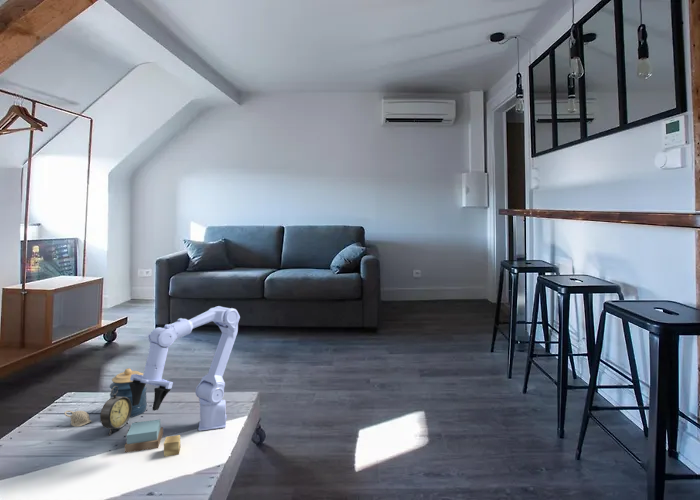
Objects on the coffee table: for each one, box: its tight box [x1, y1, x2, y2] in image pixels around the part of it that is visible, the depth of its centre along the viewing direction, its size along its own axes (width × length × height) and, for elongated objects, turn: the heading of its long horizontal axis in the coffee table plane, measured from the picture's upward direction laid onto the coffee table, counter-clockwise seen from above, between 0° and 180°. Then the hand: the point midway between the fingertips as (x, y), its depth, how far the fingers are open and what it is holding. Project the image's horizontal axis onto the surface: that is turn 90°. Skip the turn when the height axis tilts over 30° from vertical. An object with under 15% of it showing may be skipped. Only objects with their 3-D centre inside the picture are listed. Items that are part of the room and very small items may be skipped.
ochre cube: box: [163, 434, 182, 457], centre depth 134 cm, size 4×4×4 cm
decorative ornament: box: [64, 410, 93, 428], centre depth 153 cm, size 4×8×5 cm, turn 91°
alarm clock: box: [99, 386, 132, 437], centre depth 148 cm, size 11×5×16 cm, turn 168°
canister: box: [109, 368, 148, 418], centre depth 163 cm, size 13×13×18 cm
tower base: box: [124, 426, 164, 454], centre depth 139 cm, size 10×10×3 cm
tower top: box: [126, 418, 162, 444], centre depth 140 cm, size 9×9×3 cm
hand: (145, 407), depth 132 cm, fingers open, 7 cm apart
